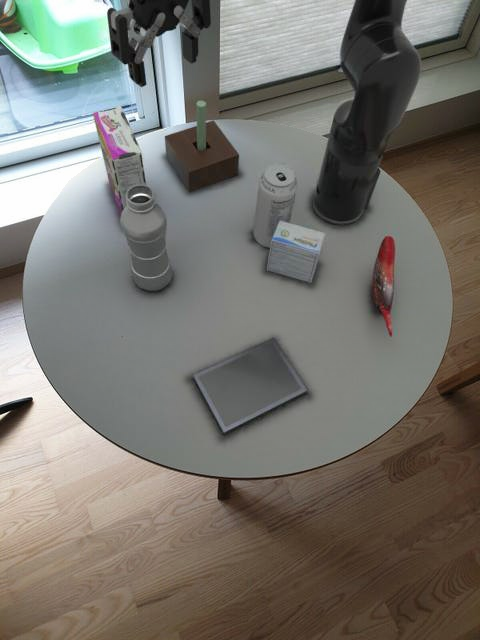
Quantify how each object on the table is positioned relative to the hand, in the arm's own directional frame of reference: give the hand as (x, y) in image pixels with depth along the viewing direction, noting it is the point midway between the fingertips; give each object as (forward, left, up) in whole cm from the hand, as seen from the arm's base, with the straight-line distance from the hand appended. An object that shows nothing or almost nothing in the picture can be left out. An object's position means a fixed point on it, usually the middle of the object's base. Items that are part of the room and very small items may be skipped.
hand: (165, 71), depth 75 cm
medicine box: (-12, +21, -27) cm, 37 cm away
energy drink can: (-12, +14, -27) cm, 33 cm away
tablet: (+5, +37, -27) cm, 46 cm away
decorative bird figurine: (-20, +35, -27) cm, 48 cm away
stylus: (-9, -7, -27) cm, 29 cm away
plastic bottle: (+10, +13, -27) cm, 32 cm away
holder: (-9, -7, -27) cm, 29 cm away
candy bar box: (+7, -4, -27) cm, 28 cm away
